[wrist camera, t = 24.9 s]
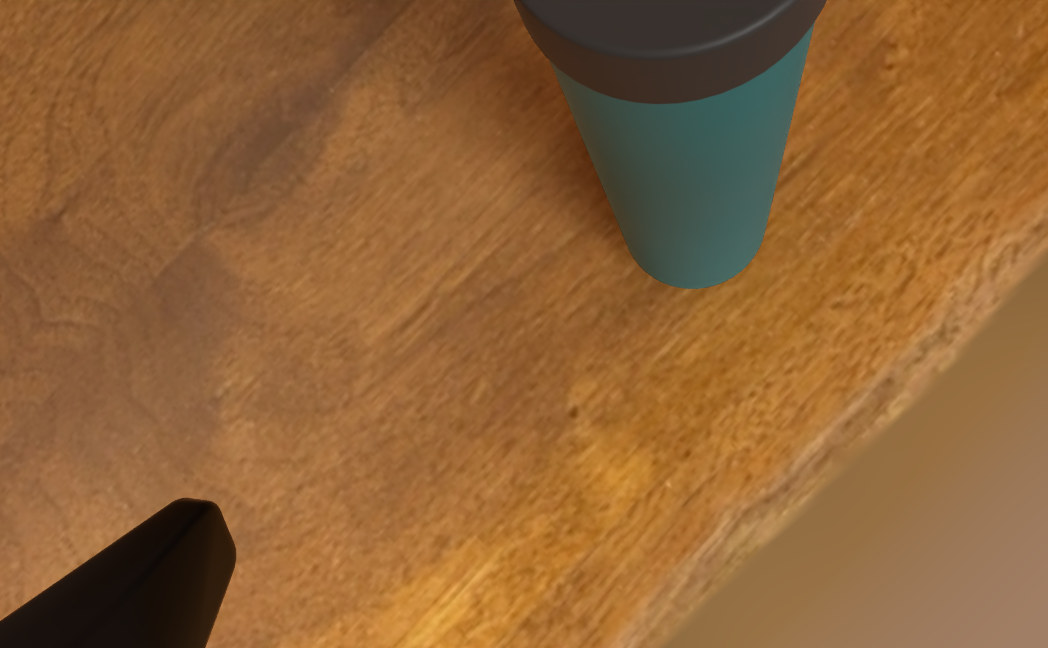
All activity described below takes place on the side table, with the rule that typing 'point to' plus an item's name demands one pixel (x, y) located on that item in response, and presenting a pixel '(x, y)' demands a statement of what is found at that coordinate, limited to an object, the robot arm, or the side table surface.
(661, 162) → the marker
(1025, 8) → the side table surface
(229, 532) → the robot arm
